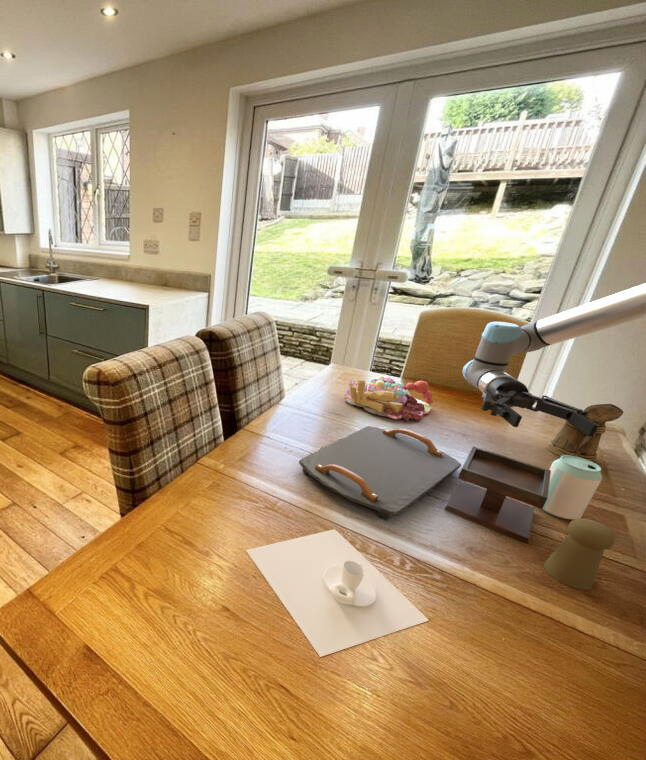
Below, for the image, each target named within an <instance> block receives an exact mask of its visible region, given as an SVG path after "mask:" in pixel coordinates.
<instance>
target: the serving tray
mask: <svg viewBox="0 0 646 760" xmlns="http://www.w3.org/2000/svg"><path fill="white" fill-rule="evenodd" d="M298 464H299V465H300V466H301V467H302V469H301V470H302V473H303V475H305V476H311V477H312V478H314V479H315V480H317V481H318V482H319V483H320V484H322V485H323V486H324V487H326V488H327V489H329V490H330V491H333V492H334V493H337V494H338V495H339V496H341V497H343V498H346V499H348V500H349V501H352V502H354V503H357V504H359V505H362V506H365V507H367V508H368V509H369V508H370V509H372V510H375V511H377V514H378V516H379V518H380V519H381V520H384V521H385V520H387V519H389V518H390V517H391V516H398V515H400V514H401V513H403V512H405V510H407V509H408V508H410V507H411V506H412V505H413V504H414V503H415V502H416V501H419V500H420V499H421V498H422V497H423V496H425V495H426V494H428V493H429V492H430V491H431V490H433V489H434V488H435V487H437V486H438V485H439V484H441V483H442V482H443V481H444V480H446V479H447V478H448V477H449V476H451V475H452V474H453V473H454V472H456V471H457V470H459V469H460V468H462V467H461V466H462V463H461V462H459V461H458V459H456V458H454V457H452V456H450V455H449V454H447V453H446V452H445V451H442V450H440V449H438V448H437V447H436V446H435V444H434V443H433V442H432V440H431V439H430V438H428V437H426V436H424V435H422V434H420V433H418V432H415V431H413V430H410V429H406V428H403V427H402V428H401V427H399V428H394V429H391V430H389V429H385V428H380V427H377V426H372V425H371V426H370V425H369V426H365V427H363V428H361V429H359V430H357V431H354V432H352V433H350V434H349V435H347V436H345V437H343V438H340V439H338V440H335V441H334V442H332V443H330V444H328V445H326V446H325V445H324V446H323V447H321V448H320V449H318V450H317V451H314V452H313V453H310V454H308V455H307V456H304V457H302V458H301V459H300V460H299V461H298Z"/></svg>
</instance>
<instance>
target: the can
mask: <svg viewBox="0 0 646 760" xmlns="http://www.w3.org/2000/svg"><path fill="white" fill-rule="evenodd" d="M548 470H551V474H550V482H549V490H548V498H547V500H546V502H545V504H544V507H543V509H542V511H544V512H546V513H548V514H550V515H551V516H554V517H555V518H556V517H557V518H560V519H564V520H575V519H578V518H583V515H584V513H585V511H586V509H587V508H588V506H589V504H590V502H591V500H592V498H593V496H594V495H595V493H596V491H597V489H598V487H599V485H600V484H601V482H602V481H603V475H602V467H601V466H600V465H598V464H597V463H595V462H591V461H589V460H586V459H583V458H580V457H576V456H570V455H563V456H559V458H558V459H555V460H554V461H552V463H551V465H550V467H549V469H548Z"/></svg>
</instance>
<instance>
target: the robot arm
mask: <svg viewBox="0 0 646 760" xmlns="http://www.w3.org/2000/svg"><path fill="white" fill-rule="evenodd" d="M644 318H646V283H641V284H639V285H637V286H632V287H631V288H628V289H625V290H622V291H619V292H616V293H614V294H610V295H608V296H607V295H606V296H605V297H602V298H599V299H596V300H593V301H591V302H587V303H585V304H582V305H579V306H576V307H573V308H570V309H568V310H565V311H562V312H559V313H557V314H556V313H555V314H553V315H551V316H548V317H544V318H542V319H539V320H537V321H532V322H530V323H526V324H524V325H522V326H520V325H519V324H516V323H511V322H507V321H491V322H490V321H489V322H488V323H487V324H486V326H485V327H484V331H483V332H482V333H481V338H480V341H479V343H478V347H477V350H476V352H475V355H474V357H473V359H471V360H470V361H467V363H465V364H464V365H463V368H462V376H463V378H464V379H465V380H466V382H467V383H468V384H469V385H471V386H473V387H474V388H475V389H477V390H478V391H479V392H481V393H482V395H481V397H480V399H482V404H481V405H482V406H481V411H484V412H488V410H489V411H490V413H489V414H490V416H493V417H496V416H497V415H498V416H499V417H500V418H502V419H503V420H505V421H506V422H507V423H508V424H509V425H511V426H512V427H513V428H519V425H520V423H521V420H522V418H523V416H522V415H520V413H518V412H517V411H515V410H514V409H513V408H514V407H515V408H520V409H526V410H528V411H532V412H535V413H537V412H541V413H545V414H546V415H550V416H553V417H556V418H559V419H562V420H565V421H566V420H568V423H569V424H571V425H572V426H574V427H575V428H577V429H578V430H580V431H581V432H583V433H584V434H586V435H587V436H591V437H593V435H594V433H595V431H596V430H597V428H598V425H596V424H595V423H593V422H591V421H590V420H588V419H587V416H588V414H589V413H588V412H586V411H584V409H582V408H578V407H576V406H573V405H570V404H567V403H564V402H561V401H559V400H557V399H554V398H552V397H550V396H548V395H544V394H543V395H542V396H541V397H540V396H537V395H533V394H532V393H531V392H529V389H528V387H527V385H526V384H525V383H523V382H521V381H520V380H518V379H517V378H516V377H514V376H512V375H510V374H509V373H507V372H506V370H507V368H508V365H509V363H510V361H511V358H512V356H513V355H517V354H522V353H532V352H536V351H539V350H541V349H543V348H546V347H550V346H551V345H552V346H553V345H556V344H560V343H562V342H565V341H569V340H573V339H577V338H580V337H582V336H586V335H589V334H593V333H596V332H599V331H603V330H607V329H609V328H613V327H617V326H619V325H623V324H627V323H631V322H634V321H637V320H640V319H644ZM534 405H535V406H534Z"/></svg>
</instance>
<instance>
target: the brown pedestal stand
mask: <svg viewBox="0 0 646 760" xmlns="http://www.w3.org/2000/svg"><path fill="white" fill-rule="evenodd" d="M550 474H551V470H549V469H548V468H544V467H541V466H538V465H534V464H533V463H532V464H531V463H528V462H525V461H522V460H519V459H515V458H512V457H509V456H506V455H503V454H500V453H496V452H493V451H490V450H486V449H484V448H480V447H477V446H473V445H472V446H471V448H470V450H469V452H468V455H467V456H466V458H465V461H464V463H463V465H462V467H461V469H460V471H459V474H458V477H457V479H458V480H457V482H456V484H455V487H454V489H453V490H452V493H451V495H450V496H449V499H448V501H447V503H446V505H445V507H444V510H445V511H447V512H449V513H452V514H454V515H457V516H459V517H462V518H463V519H467V520H469V521H471V522H474V523H476V524H479V525H481V526H483V527H485V528H488V529H490V530H492V531H495V532H498V533H500V534H503V535H505V536H506V537H507V536H508V537H510V538H512V539H514V540H518V541H519V542H522V543H524V544H528V542H529V541H530V537H531V532H532V531H531V530H532V525H533V520H534V519H533V517H534V511H535V508H538V509H541V510H543V507H544V504H545V502H546V500H547V498H548V490H549V482H550Z"/></svg>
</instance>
